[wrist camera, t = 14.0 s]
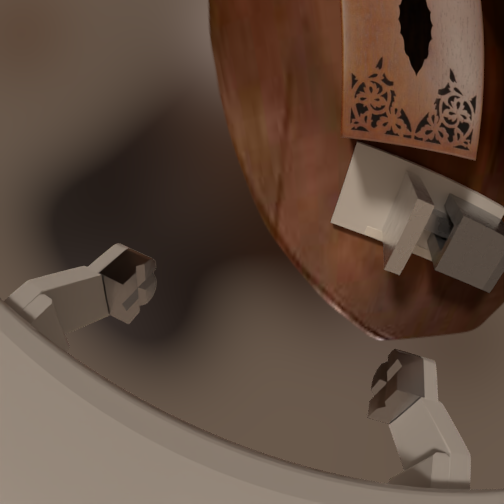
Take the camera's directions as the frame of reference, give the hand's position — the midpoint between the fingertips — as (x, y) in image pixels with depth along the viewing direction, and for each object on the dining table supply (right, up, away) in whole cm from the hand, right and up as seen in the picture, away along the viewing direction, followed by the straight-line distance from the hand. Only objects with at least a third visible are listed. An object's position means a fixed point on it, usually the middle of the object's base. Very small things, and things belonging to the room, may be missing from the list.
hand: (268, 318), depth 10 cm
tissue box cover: (+18, +28, +18) cm, 38 cm away
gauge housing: (+28, +5, +26) cm, 39 cm away
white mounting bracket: (+23, +6, +28) cm, 37 cm away
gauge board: (+23, +8, +29) cm, 37 cm away
